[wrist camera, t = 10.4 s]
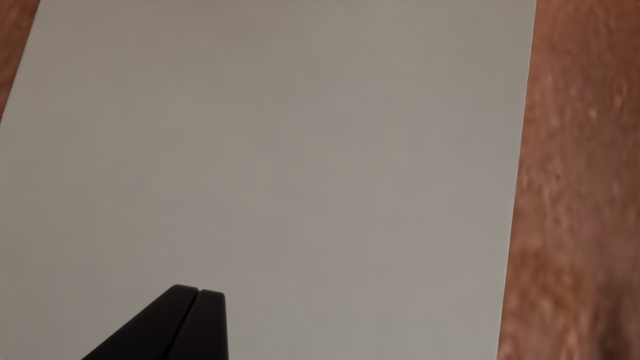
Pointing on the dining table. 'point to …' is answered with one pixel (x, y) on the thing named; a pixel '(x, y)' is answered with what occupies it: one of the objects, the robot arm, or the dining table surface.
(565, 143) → the dining table surface
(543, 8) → the dining table surface
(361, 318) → the lid
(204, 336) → the robot arm
